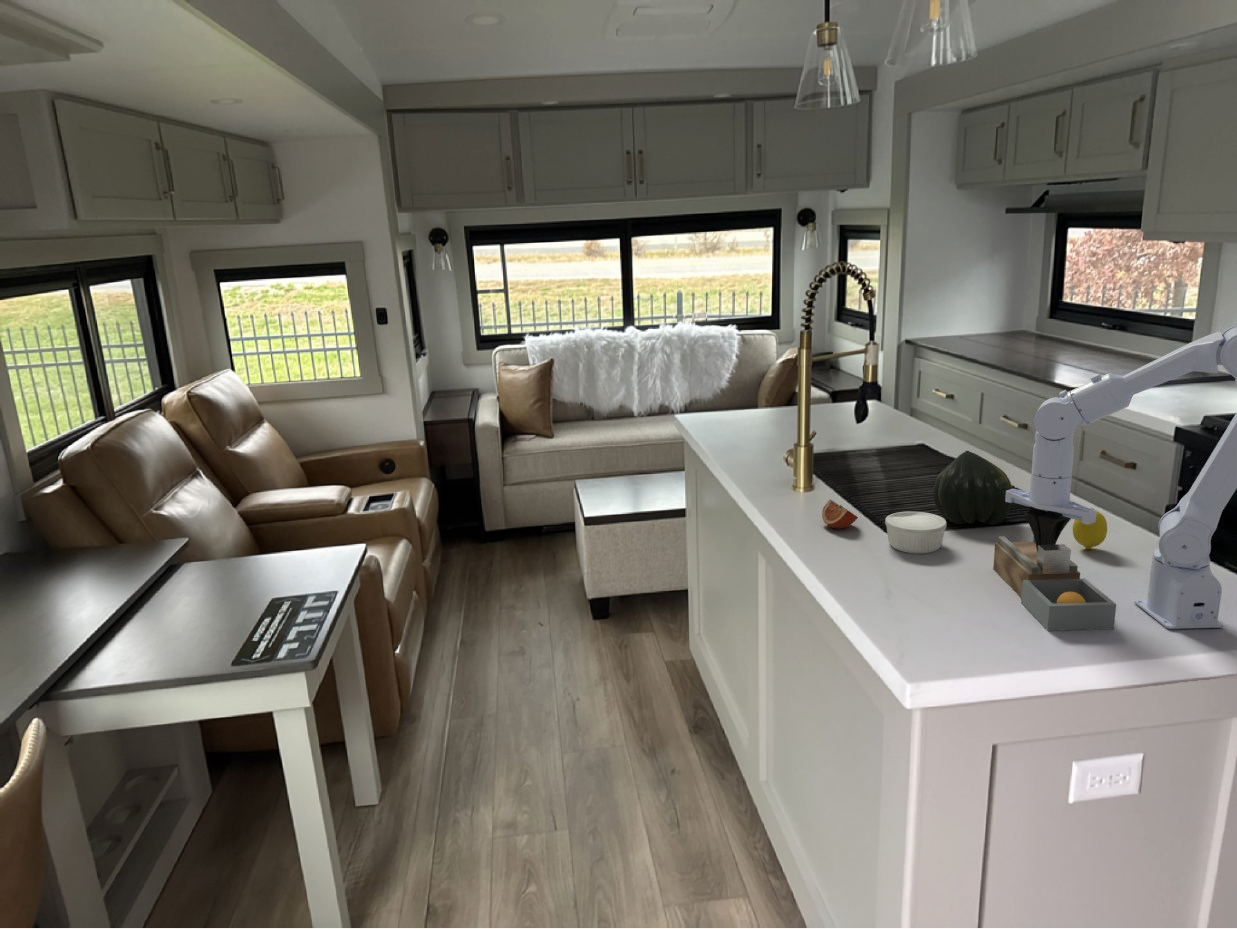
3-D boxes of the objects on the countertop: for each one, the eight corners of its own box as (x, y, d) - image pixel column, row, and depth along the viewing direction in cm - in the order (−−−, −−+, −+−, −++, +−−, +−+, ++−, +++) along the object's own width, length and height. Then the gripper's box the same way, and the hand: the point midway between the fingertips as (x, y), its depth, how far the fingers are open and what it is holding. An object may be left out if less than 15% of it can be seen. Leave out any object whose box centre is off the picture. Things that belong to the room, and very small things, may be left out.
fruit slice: (816, 522, 176) (816, 499, 174) (845, 518, 177) (845, 496, 176) (833, 535, 168) (833, 511, 166) (863, 531, 169) (864, 508, 168)
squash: (1007, 513, 158) (1013, 444, 164) (925, 508, 165) (933, 442, 171) (1011, 541, 169) (1016, 475, 175) (934, 535, 177) (941, 472, 182)
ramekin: (918, 531, 167) (919, 507, 165) (958, 549, 157) (960, 523, 155) (872, 541, 163) (873, 516, 162) (911, 560, 153) (911, 533, 152)
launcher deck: (1077, 601, 133) (1080, 565, 131) (1026, 603, 133) (1028, 567, 132) (1039, 567, 146) (1042, 535, 144) (993, 569, 147) (995, 536, 145)
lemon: (1109, 555, 150) (1114, 513, 148) (1076, 554, 151) (1080, 513, 149) (1099, 544, 155) (1103, 503, 153) (1066, 543, 156) (1070, 503, 154)
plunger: (1068, 573, 131) (1071, 549, 130) (1042, 574, 131) (1044, 550, 130) (1061, 567, 133) (1063, 544, 132) (1036, 568, 134) (1038, 545, 132)
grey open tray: (1113, 628, 123) (1116, 604, 122) (1047, 630, 124) (1049, 606, 123) (1082, 601, 133) (1084, 578, 132) (1021, 603, 133) (1022, 580, 132)
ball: (1082, 620, 127) (1093, 614, 124) (1055, 620, 127) (1066, 615, 124) (1076, 594, 129) (1087, 588, 125) (1049, 595, 129) (1060, 589, 125)
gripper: (1111, 479, 127) (1103, 561, 130) (1027, 460, 139) (1021, 535, 143) (1082, 487, 124) (1074, 572, 127) (999, 467, 136) (994, 544, 140)
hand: (1044, 553), depth 135 cm, fingers closed
